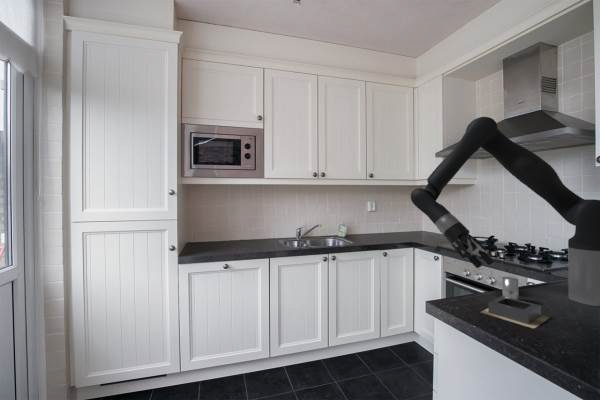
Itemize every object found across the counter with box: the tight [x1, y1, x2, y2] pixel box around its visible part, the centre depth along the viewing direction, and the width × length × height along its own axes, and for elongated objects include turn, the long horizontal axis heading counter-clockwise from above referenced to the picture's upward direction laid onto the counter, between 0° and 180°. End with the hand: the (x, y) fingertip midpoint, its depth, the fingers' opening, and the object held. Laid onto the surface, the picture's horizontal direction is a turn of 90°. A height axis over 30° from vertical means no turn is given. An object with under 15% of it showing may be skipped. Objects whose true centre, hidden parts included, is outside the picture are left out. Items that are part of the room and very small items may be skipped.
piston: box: [501, 276, 519, 300], centre depth 86 cm, size 4×4×8 cm
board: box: [480, 307, 550, 329], centre depth 75 cm, size 12×12×1 cm
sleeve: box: [487, 295, 542, 325], centre depth 75 cm, size 9×9×3 cm
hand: (486, 265), depth 91 cm, fingers open, 8 cm apart
